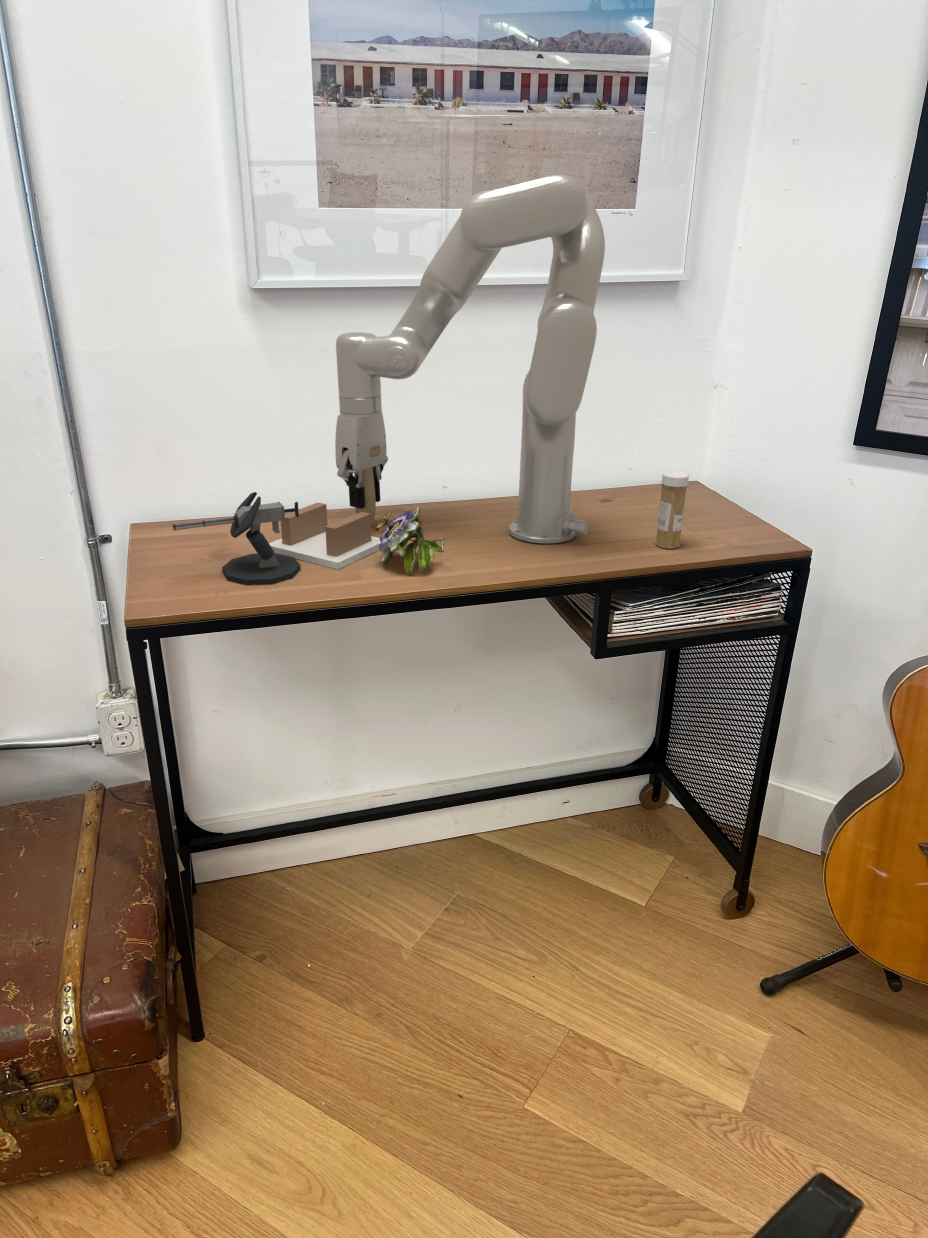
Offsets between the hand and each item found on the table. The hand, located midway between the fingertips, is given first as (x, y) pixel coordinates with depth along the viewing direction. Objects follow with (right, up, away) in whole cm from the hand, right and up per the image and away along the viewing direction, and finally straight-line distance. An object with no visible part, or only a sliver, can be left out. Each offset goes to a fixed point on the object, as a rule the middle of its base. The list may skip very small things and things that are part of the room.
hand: (365, 502), depth 164 cm
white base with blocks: (-6, -9, -9) cm, 14 cm away
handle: (0, -4, +2) cm, 4 cm away
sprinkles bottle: (+56, -9, -4) cm, 57 cm away
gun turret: (-18, -15, -21) cm, 31 cm away
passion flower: (+9, -13, -15) cm, 22 cm away
